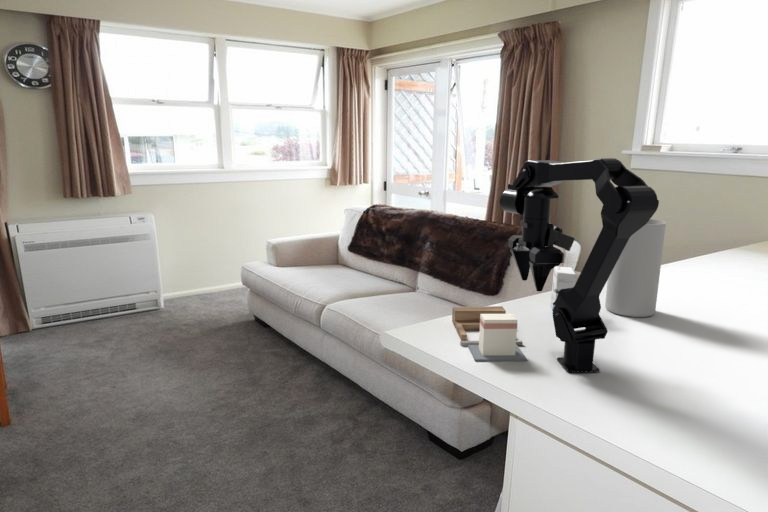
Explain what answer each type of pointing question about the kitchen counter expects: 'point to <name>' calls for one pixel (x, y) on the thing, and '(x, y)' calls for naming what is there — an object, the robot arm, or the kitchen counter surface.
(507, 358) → the mat
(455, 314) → the cradle
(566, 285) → the ink box
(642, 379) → the kitchen counter surface
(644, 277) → the cylinder vase
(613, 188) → the robot arm
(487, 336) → the block
